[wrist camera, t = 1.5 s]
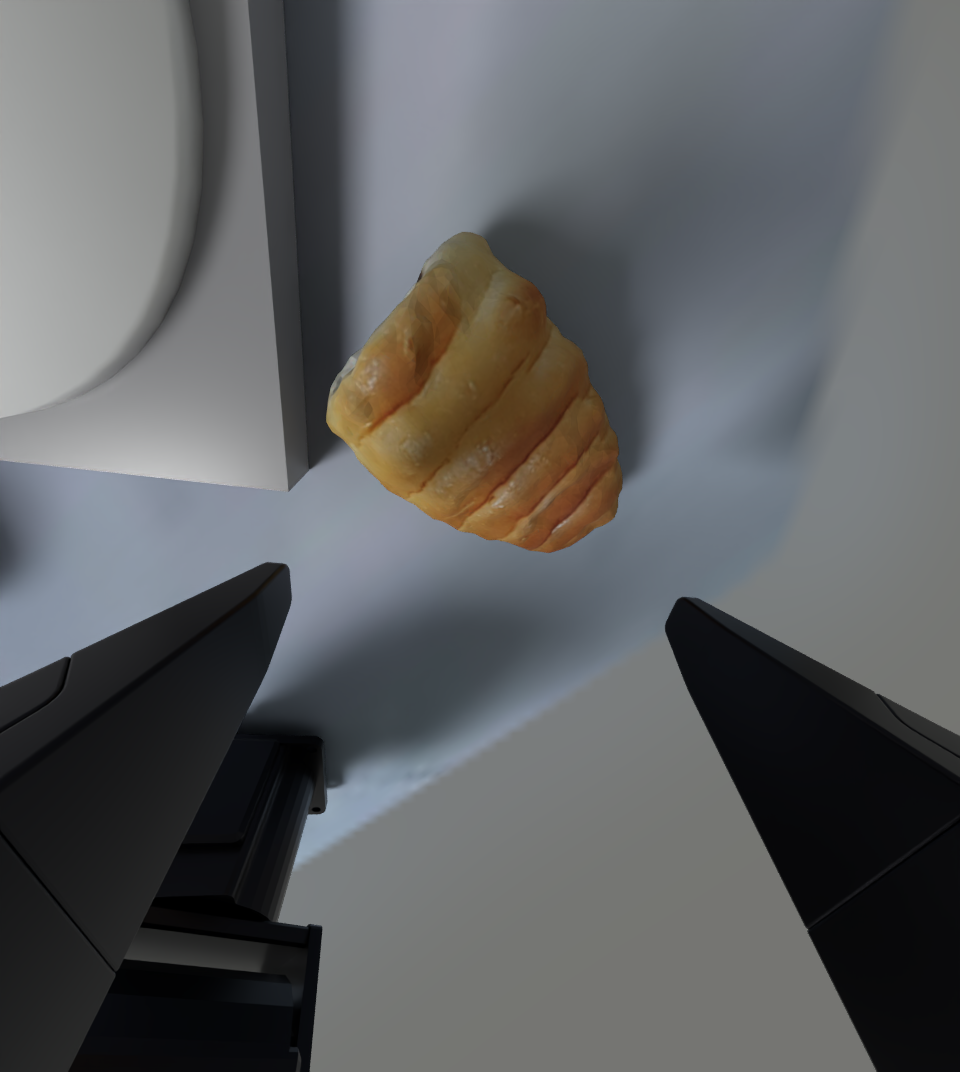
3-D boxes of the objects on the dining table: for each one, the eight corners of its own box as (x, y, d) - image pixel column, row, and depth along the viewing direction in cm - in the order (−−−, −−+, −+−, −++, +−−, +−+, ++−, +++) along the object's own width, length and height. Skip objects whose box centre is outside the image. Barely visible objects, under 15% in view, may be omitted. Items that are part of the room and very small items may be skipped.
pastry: (648, 445, 14) (719, 481, 10) (519, 568, 16) (544, 633, 12) (451, 216, 10) (463, 159, 7) (313, 414, 12) (267, 446, 9)
